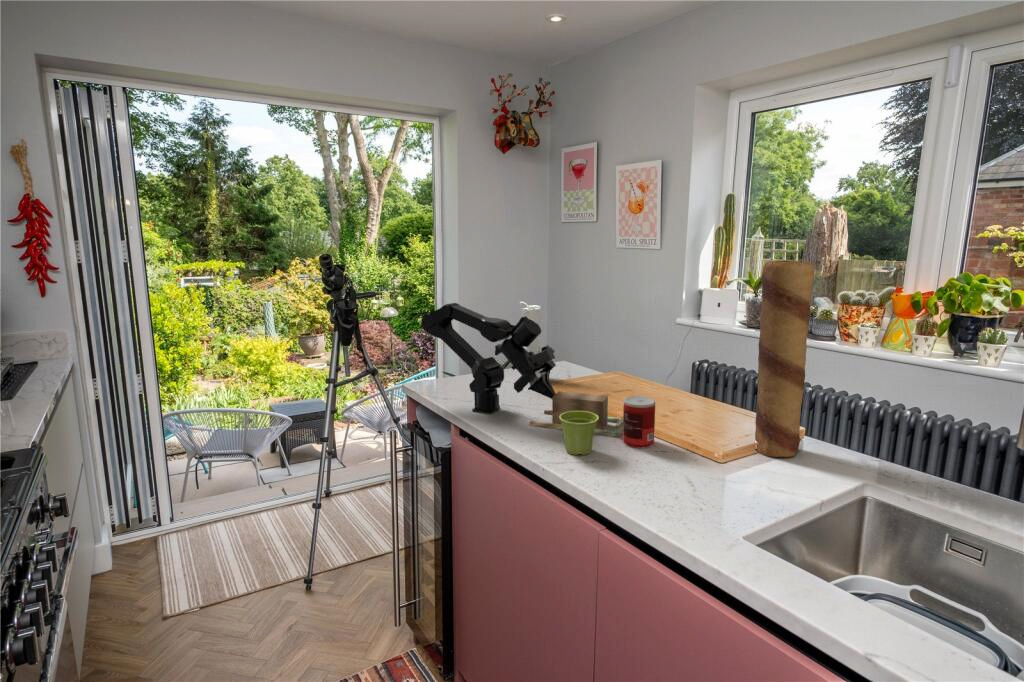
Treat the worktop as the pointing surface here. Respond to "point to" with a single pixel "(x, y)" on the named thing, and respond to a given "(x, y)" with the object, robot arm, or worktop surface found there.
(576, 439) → the plant pot
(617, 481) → the worktop surface
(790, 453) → the wafer roll
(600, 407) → the walnut block
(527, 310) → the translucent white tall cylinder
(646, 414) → the canned food
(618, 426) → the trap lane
